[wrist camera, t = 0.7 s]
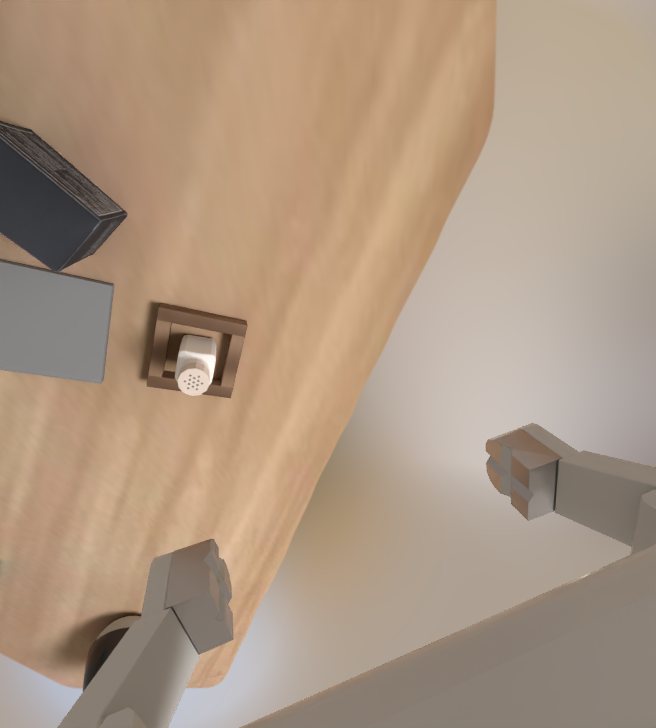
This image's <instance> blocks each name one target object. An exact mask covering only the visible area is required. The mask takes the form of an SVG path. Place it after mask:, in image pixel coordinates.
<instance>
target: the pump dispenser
mask: <svg viewBox="0 0 656 728" xmlns="http://www.w3.org/2000/svg"><path fill="white" fill-rule="evenodd" d="M139 619H141V616H127V617H123V618H120V619H117V620H115V621H114V622H112V623H111V624H109V625H108V626H107V627H106V628H105V629H104V630H103V631H102V632H101V633H100V635H99V636H98V638H97V639H96V641H95V642H94V643H93V645H92V646H91V648H90V650H89V653H88V657H87V661H86V667H85V673H84V682H83V692H84V690H85V689H86V687H87V686H88V685H89V683H90V682H91V681H92V679H93V678H94V676H95V675H96V674H97V672H98V671H99V669H100V668H101V667H102V665H103V664H104V663H105V661H106V660H107V658H108V657H109V656H110V654H111V653H112V652H113V650H114V649H115V647H116V646H117V645H118V643H119V642H120V640H121V639H122V638H123V636H124V635H125V634H126V632H127V631H128V629H129V628H130V627H131V625H132V624H133V623H134V621H137V620H139Z"/></svg>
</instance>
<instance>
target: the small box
mask: <svg viewBox="0 0 656 728" xmlns="http://www.w3.org/2000/svg"><path fill="white" fill-rule="evenodd" d="M126 217H127V213H126V212H125V211H124V210H123V209H122V208H121V207H120V206H119V205H117V204H116V203H115V202H114V201H113V200H112V199H110V198H109V197H108V196H107V195H106V194H105V193H104V192H102V191H101V190H100V189H99V188H98V187H97V186H96V185H94V184H93V183H92V182H91V181H90V180H89V179H87V178H86V177H85V176H84V175H83V174H82V173H81V172H79V171H78V170H77V169H76V168H75V167H74V166H73V165H72V164H71V163H69V162H68V161H67V160H66V159H64V158H63V157H62V156H61V155H60V154H59V153H58V152H57V151H55V150H54V149H53V148H52V147H51V146H49V145H48V144H47V143H46V142H45V141H43V140H42V139H41V138H40V137H39V136H38V135H36V134H35V133H34V132H33V131H32V130H31V129H26V128H22V127H19V126H15V125H11V124H8V123H5V122H2V121H0V233H2V234H3V235H5V236H6V237H7V238H9V239H10V240H11V241H13V242H14V243H16V244H17V245H18V246H20V247H21V248H23V249H24V250H25V251H27V252H28V253H30V254H31V255H32V256H34V257H35V258H36V259H38V260H39V261H41V262H42V263H43V264H45V265H46V266H47V267H49V268H50V269H52V270H53V271H54V272H59V271H61V270H62V269H64V268H66V267H68V266H70V265H72V264H74V263H76V262H78V261H80V260H82V259H84V258H86V257H88V256H90V255H93V254H94V253H95V251H96V250H97V249H98V248H99V247H100V246H101V245H102V244H103V243H104V241H105V240H106V239H107V238H108V237H109V236H110V235H111V234H112V232H113V231H114V230H115V229H116V228H117V227H118V226H119V225H120V223H121V222H122V221H123V220H124V219H125V218H126Z"/></svg>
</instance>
